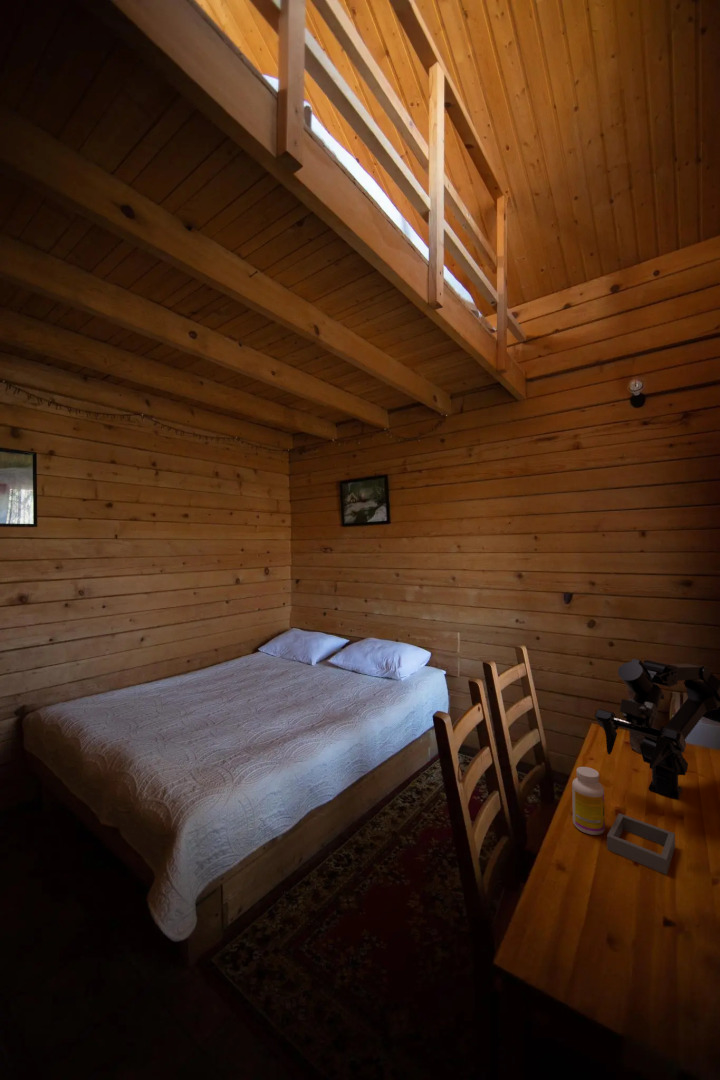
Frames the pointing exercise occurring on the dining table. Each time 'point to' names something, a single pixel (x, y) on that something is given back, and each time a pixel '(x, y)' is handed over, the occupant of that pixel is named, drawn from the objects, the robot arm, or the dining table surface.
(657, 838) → the holder
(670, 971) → the dining table surface
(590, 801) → the supplement bottle
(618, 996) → the dining table surface
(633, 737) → the candle
